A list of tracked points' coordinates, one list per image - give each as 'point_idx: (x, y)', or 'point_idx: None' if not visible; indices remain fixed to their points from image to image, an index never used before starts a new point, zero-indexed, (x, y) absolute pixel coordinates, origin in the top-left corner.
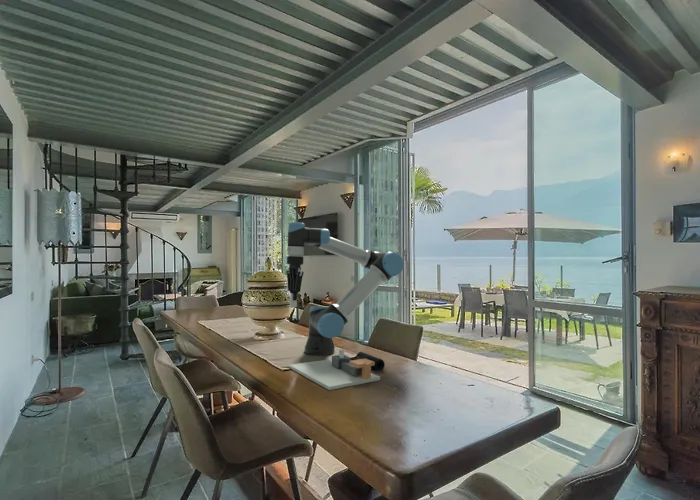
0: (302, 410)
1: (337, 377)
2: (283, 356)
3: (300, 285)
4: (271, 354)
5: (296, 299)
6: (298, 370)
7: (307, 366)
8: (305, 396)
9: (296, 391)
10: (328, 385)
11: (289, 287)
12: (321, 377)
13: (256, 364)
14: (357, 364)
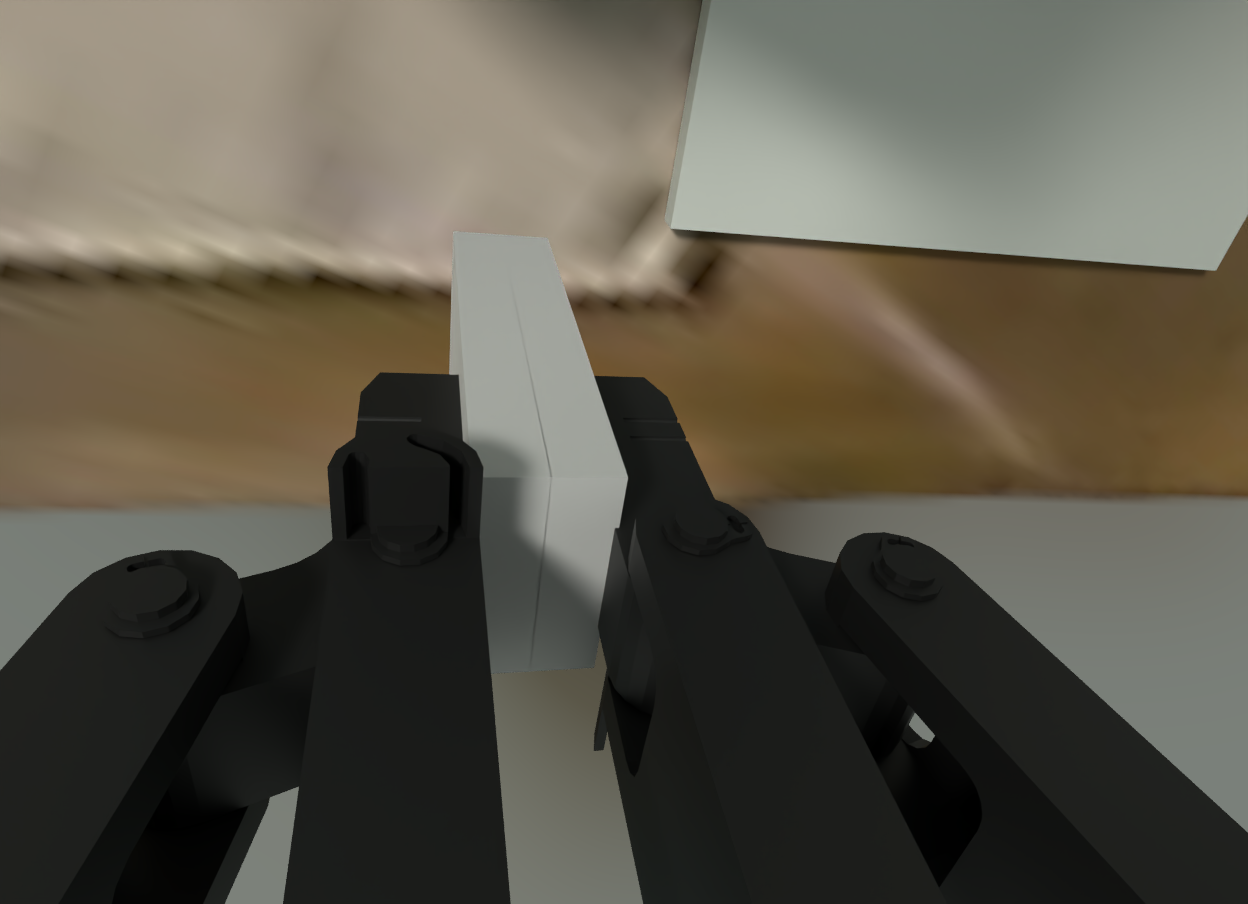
0: (1198, 497)
1: (1187, 92)
2: (234, 25)
3: (1204, 834)
4: (76, 103)
5: (656, 404)
6: (831, 239)
7: (815, 112)
8: (1128, 416)
9: (1049, 419)
10: (1201, 261)
11: (211, 893)
12: (1083, 199)
13: None
14: None
